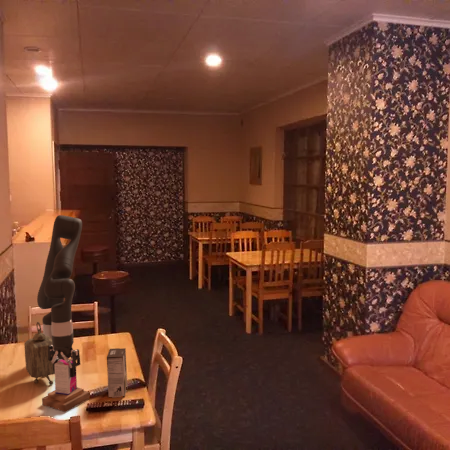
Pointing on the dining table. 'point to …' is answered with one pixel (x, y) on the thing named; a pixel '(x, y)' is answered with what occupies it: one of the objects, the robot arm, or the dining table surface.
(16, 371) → the dining table surface
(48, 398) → the walnut base
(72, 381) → the supplement box
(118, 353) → the coffee box
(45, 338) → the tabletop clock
